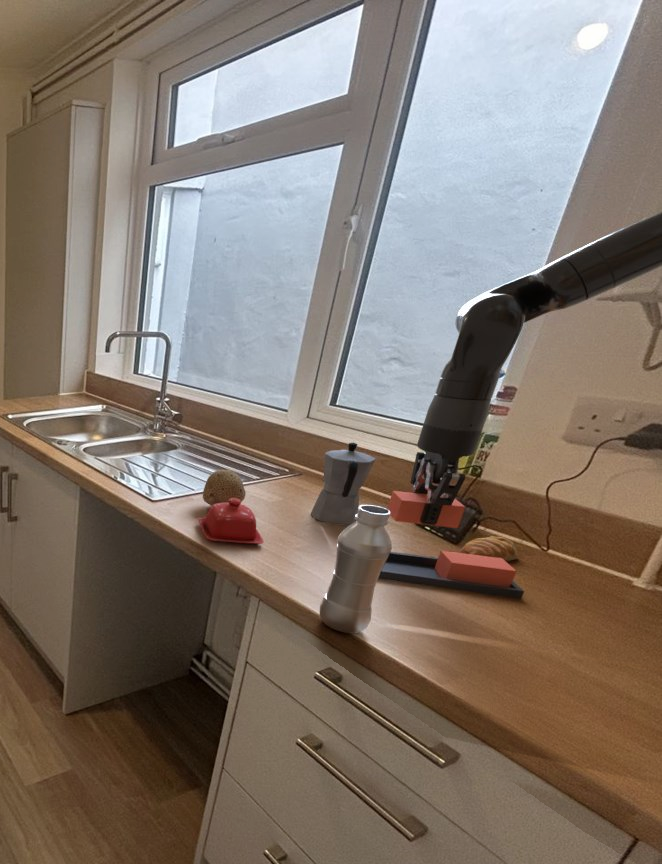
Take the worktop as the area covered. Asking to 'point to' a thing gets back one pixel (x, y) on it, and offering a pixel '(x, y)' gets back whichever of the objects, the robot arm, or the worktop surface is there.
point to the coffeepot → (342, 485)
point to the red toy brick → (412, 506)
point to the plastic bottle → (357, 571)
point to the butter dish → (231, 523)
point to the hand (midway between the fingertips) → (421, 517)
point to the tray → (437, 576)
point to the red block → (474, 569)
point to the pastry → (491, 548)
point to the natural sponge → (223, 487)
